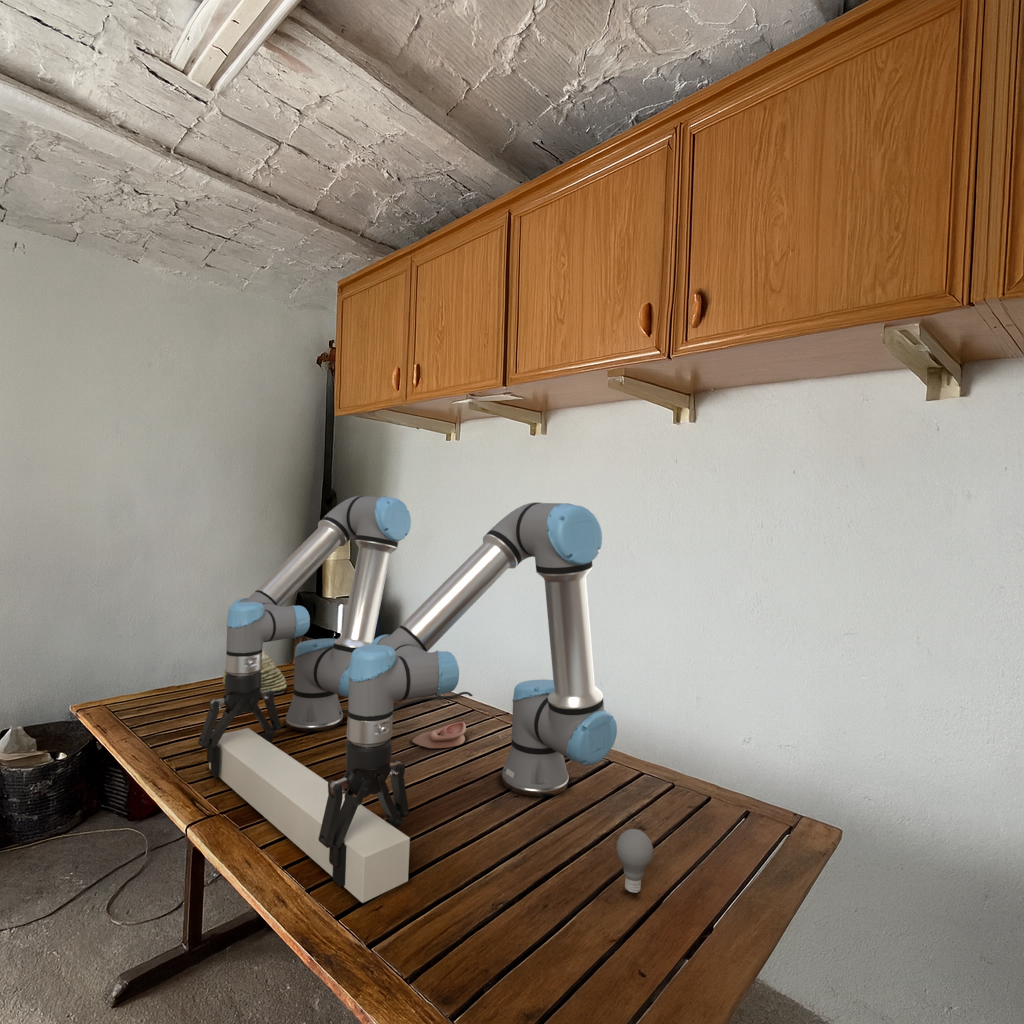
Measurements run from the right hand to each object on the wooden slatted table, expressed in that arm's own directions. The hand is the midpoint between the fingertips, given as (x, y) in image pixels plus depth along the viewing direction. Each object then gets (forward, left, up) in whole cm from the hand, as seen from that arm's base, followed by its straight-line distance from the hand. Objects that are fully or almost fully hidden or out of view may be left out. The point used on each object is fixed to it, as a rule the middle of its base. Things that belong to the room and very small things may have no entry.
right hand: (363, 871), depth 107 cm
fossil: (-36, -100, -1) cm, 106 cm away
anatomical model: (-50, -33, -1) cm, 60 cm away
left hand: (-5, -51, 0) cm, 52 cm away
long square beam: (-3, -26, -1) cm, 26 cm away
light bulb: (-27, +36, -1) cm, 45 cm away
